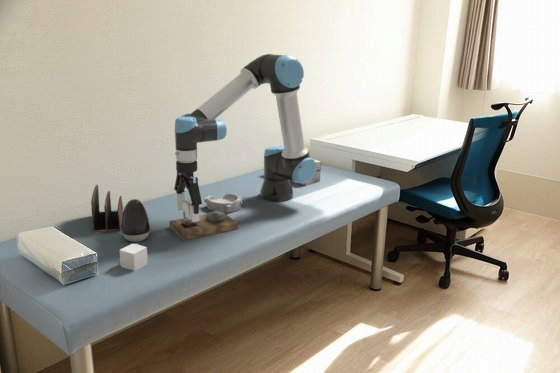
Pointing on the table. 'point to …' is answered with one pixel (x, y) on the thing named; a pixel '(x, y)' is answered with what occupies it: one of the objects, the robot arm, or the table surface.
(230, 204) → the dish
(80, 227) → the table surface
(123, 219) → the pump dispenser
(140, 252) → the white cube
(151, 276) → the table surface
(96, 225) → the letter holder
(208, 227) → the plate
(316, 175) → the surgical sutures box
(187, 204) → the pin
